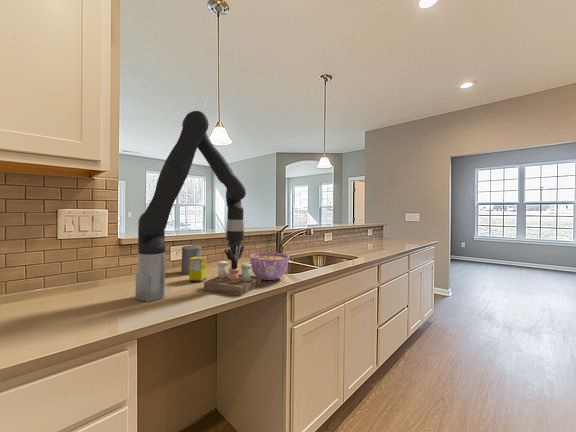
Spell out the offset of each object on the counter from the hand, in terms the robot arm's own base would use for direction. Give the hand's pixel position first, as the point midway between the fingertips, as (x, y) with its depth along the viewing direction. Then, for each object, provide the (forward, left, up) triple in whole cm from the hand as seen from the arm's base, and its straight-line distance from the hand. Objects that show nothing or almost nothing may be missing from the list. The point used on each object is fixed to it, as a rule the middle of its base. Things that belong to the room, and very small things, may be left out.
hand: (234, 268), depth 121 cm
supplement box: (+2, +21, -9) cm, 23 cm away
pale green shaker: (0, -6, -5) cm, 7 cm away
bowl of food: (+20, -8, -8) cm, 23 cm away
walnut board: (0, 0, -8) cm, 8 cm away
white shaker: (0, +6, -5) cm, 8 cm away
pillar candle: (+13, +34, -9) cm, 37 cm away
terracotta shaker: (0, 0, -7) cm, 7 cm away
